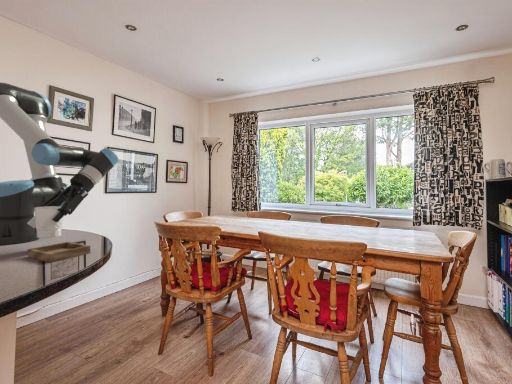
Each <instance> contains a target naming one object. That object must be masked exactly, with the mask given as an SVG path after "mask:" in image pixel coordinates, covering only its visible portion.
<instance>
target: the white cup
mask: <svg viewBox="0 0 512 384" xmlns="http://www.w3.org/2000/svg"><path fill="white" fill-rule="evenodd" d="M59 208H61V207H60V206H44V207H36V208H35V211H34V216H35V225H36V231H37V237H38V238H39V239H52V238H58V237H61V236H62V228H63V220H64V216H63V217H62V218H61V219H60V220H59V221H58V222H57V224H56V225H55V226H54V227H53V228H52V229H51V230H50V231H47V230H46V229H44V228H43V227H42V225H43V224H44V223H45V222H46V221H47V220H48V219H49V218H50V217H51V216H52V215H53V214H54V213H55V212H56V211H58V210H57V209H59ZM58 212H60V211H58Z"/></svg>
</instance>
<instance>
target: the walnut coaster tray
mask: <svg viewBox="0 0 512 384" xmlns="http://www.w3.org/2000/svg"><path fill="white" fill-rule="evenodd" d="M87 254H91V245H88V244H82V243H78V242H72V241H65V242H60V243H55V244H49V245H45V246H38V247H33V248H28V249H27V257H28V258H31V259H34V260H39V261H42V262H47V263H51V264H52V263H54V262H59V261H63V260H67V259H71V258H75V257H80V256H83V255H87Z"/></svg>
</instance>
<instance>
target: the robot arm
mask: <svg viewBox="0 0 512 384" xmlns="http://www.w3.org/2000/svg"><path fill="white" fill-rule="evenodd" d="M51 112H52V105H51V101H50V100H49V99H48V98H47V97H46V96H45V95H43V94H41V93H39V92H36V91H34V90H29V89H26V88H23V87H19V86H16V85H13V84H11V83H7V82H2V81H0V119H1V120H2V121H3V122H5V124H7V126H8V127H9V128H10V129H11V130H12V131H13V132H14V133H15V134H16V135H17V136H18V137H19V138H20V139H21V140H22V141H23V144H24V148H25V153H26V157H27V160H28V161H27V162H28V165H29V168H30V174H31V178H30V179H20V180H7V181H0V245H11V244H13V245H15V244H21V243H28V242H32V241H37V240H39V239H40V238H38V237H37V231H36V225H35V208H36V207H44V206H60V207H61V208H59V209H57V210H58V211H60V212H58V211H56V212H55V213H54V214H53V215H52V216H51V217H50V218H49V219H48V220H47V221H46V222H45V223H44V224H43V225H42V227H43V228H44V229H46V230H47V231H50V230H51V229H52V228H53V227H54V226H55V225H56V224H57V222H58V221H59V220H60V219H61V218H62V217H63V218H64V217H65V216H67V215H72V214H73V213H74V211H75V210H76V209H77V208H78V206H80V205H81V203H82V202H83V201H84V199H86V197H88V196H89V193H90V192H91V190H93V189H94V187H95V186H96V185H97V184H99V183H100V181H101V180H103V178H104V177H105V176H106V175H107V174H108V173H109V172H110V171H111V169H112V168H114V167H115V165H116V164H117V163H118V162H119V157H118V155H117V153H116V152H115V151H113V149H110V148H107V147H106V148H102V149H101V150H100V151H99V152H98V151H93V150H90V149H85V148H82V147H77V146H73V147H71V146H64V145H59V144H58V143H57V142H56V141H55V140H54V139H53V138H52V137H51V136H50V135H49V134H48V132H47V129H46V125H45V124H46V123H47V122H48V119H49V118H50V116H51ZM56 166H58V167H59V166H61V167H71V168H72V167H73V168H74V167H76V168H81V169H80V170H78V172H77V173H76V174H75V175H73V176H72V177H71V178H70V180H69V183H70V185H68V183H65V182H64V181H63V179H62V176H60V175H59V174H57V171H56Z"/></svg>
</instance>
